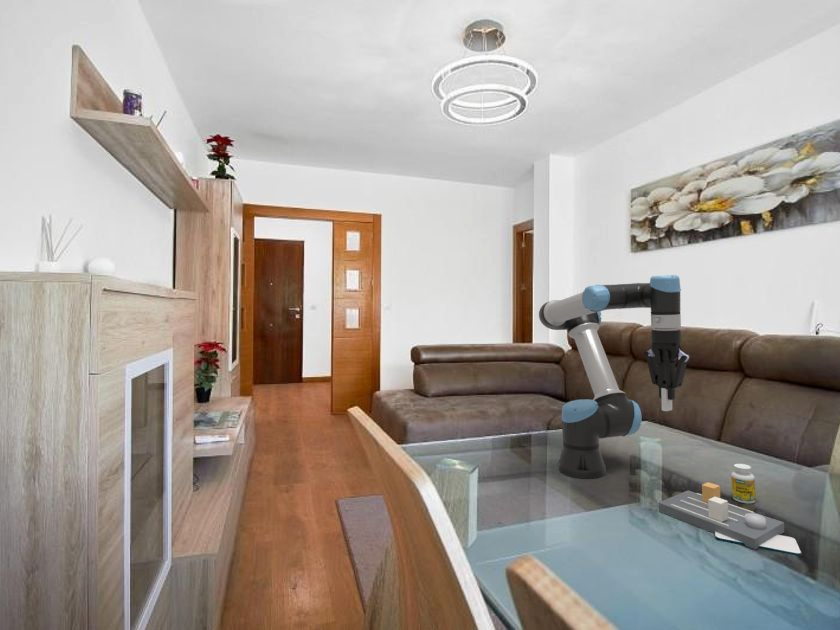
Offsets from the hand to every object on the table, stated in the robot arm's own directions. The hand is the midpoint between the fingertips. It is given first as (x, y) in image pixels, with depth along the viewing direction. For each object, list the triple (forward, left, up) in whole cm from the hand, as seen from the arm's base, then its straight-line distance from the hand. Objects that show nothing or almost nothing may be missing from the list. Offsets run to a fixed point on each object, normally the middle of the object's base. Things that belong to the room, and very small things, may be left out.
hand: (667, 410), depth 130 cm
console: (+15, -5, -25) cm, 30 cm away
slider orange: (+12, -1, -22) cm, 25 cm away
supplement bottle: (+13, +13, -25) cm, 31 cm away
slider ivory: (+18, -8, -22) cm, 30 cm away
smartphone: (+25, -7, -26) cm, 36 cm away
